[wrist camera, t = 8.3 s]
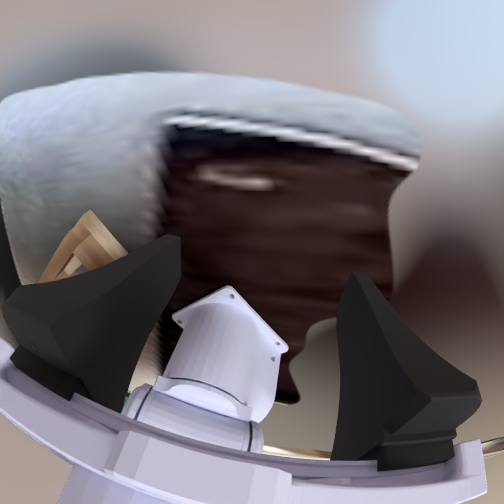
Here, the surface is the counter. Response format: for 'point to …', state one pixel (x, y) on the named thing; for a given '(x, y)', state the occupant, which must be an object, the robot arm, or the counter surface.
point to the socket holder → (83, 249)
